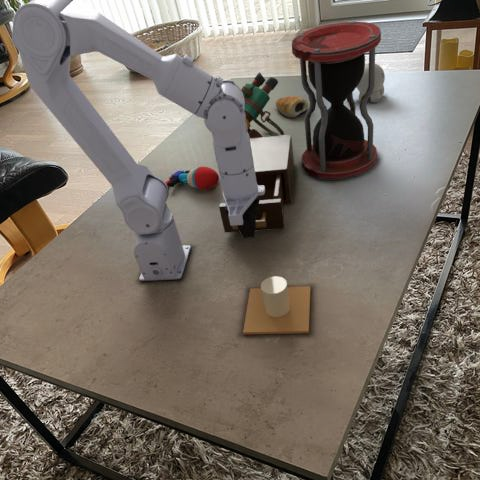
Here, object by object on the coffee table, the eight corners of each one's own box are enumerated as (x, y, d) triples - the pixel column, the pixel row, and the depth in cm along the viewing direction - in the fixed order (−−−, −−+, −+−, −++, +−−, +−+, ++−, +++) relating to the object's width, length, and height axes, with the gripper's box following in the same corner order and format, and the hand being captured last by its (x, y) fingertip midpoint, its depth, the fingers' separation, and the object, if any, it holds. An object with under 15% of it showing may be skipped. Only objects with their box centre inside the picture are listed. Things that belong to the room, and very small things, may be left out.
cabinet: (290, 203, 98) (286, 169, 93) (230, 208, 101) (222, 174, 95) (294, 166, 108) (291, 134, 103) (239, 172, 111) (233, 140, 105)
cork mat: (308, 333, 73) (308, 331, 72) (243, 334, 75) (242, 332, 74) (310, 288, 79) (310, 285, 79) (250, 290, 82) (250, 288, 81)
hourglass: (322, 139, 115) (316, 20, 97) (388, 148, 107) (395, 20, 89) (288, 174, 106) (275, 50, 89) (357, 186, 98) (357, 52, 81)
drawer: (282, 241, 88) (279, 214, 84) (221, 245, 90) (215, 219, 86) (288, 190, 100) (285, 164, 96) (234, 194, 102) (229, 169, 98)
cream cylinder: (288, 317, 75) (285, 293, 71) (263, 317, 76) (258, 293, 72) (291, 299, 78) (288, 275, 74) (266, 299, 79) (262, 276, 75)
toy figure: (162, 195, 112) (210, 196, 103) (154, 175, 109) (203, 174, 100) (182, 181, 116) (231, 180, 107) (175, 161, 114) (224, 159, 105)
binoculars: (243, 147, 126) (207, 108, 115) (278, 103, 124) (244, 59, 113) (273, 166, 116) (236, 125, 106) (311, 118, 114) (278, 72, 104)
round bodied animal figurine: (343, 92, 132) (342, 58, 126) (387, 93, 126) (389, 58, 120) (333, 103, 128) (332, 69, 122) (379, 105, 122) (380, 69, 116)
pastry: (270, 110, 131) (268, 96, 129) (289, 102, 133) (288, 87, 131) (291, 119, 125) (290, 104, 123) (311, 110, 127) (310, 95, 125)
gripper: (255, 188, 71) (267, 260, 81) (265, 142, 81) (274, 211, 91) (209, 191, 73) (226, 262, 82) (224, 146, 83) (237, 213, 92)
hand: (249, 235), depth 87 cm, fingers closed
